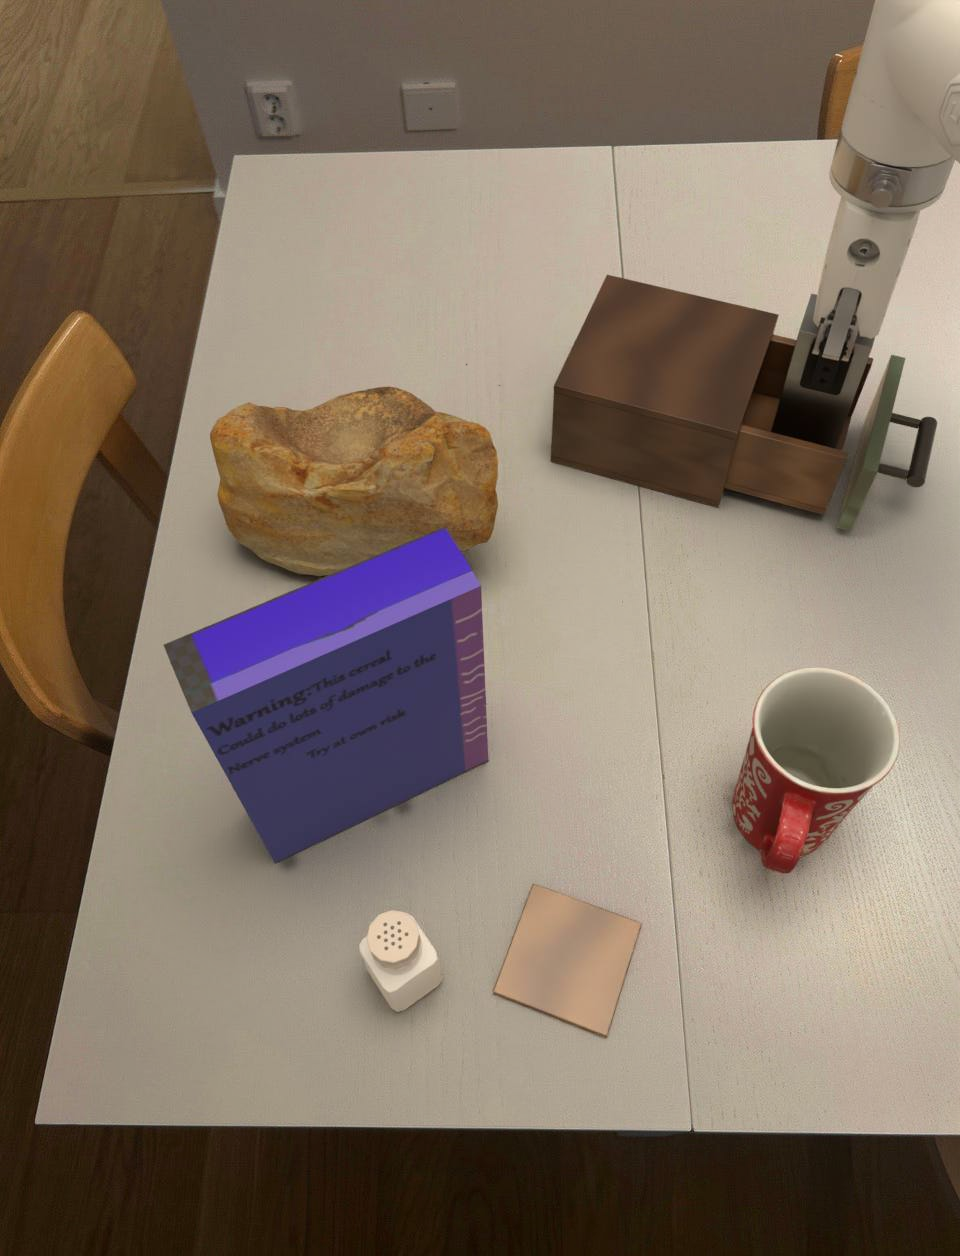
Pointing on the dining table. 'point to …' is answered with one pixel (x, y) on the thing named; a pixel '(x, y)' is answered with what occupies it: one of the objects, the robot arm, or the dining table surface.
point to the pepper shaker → (400, 959)
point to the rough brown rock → (352, 478)
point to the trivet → (568, 959)
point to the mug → (810, 761)
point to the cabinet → (659, 388)
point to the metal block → (811, 409)
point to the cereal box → (344, 692)
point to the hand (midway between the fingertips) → (826, 364)
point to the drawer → (812, 468)
